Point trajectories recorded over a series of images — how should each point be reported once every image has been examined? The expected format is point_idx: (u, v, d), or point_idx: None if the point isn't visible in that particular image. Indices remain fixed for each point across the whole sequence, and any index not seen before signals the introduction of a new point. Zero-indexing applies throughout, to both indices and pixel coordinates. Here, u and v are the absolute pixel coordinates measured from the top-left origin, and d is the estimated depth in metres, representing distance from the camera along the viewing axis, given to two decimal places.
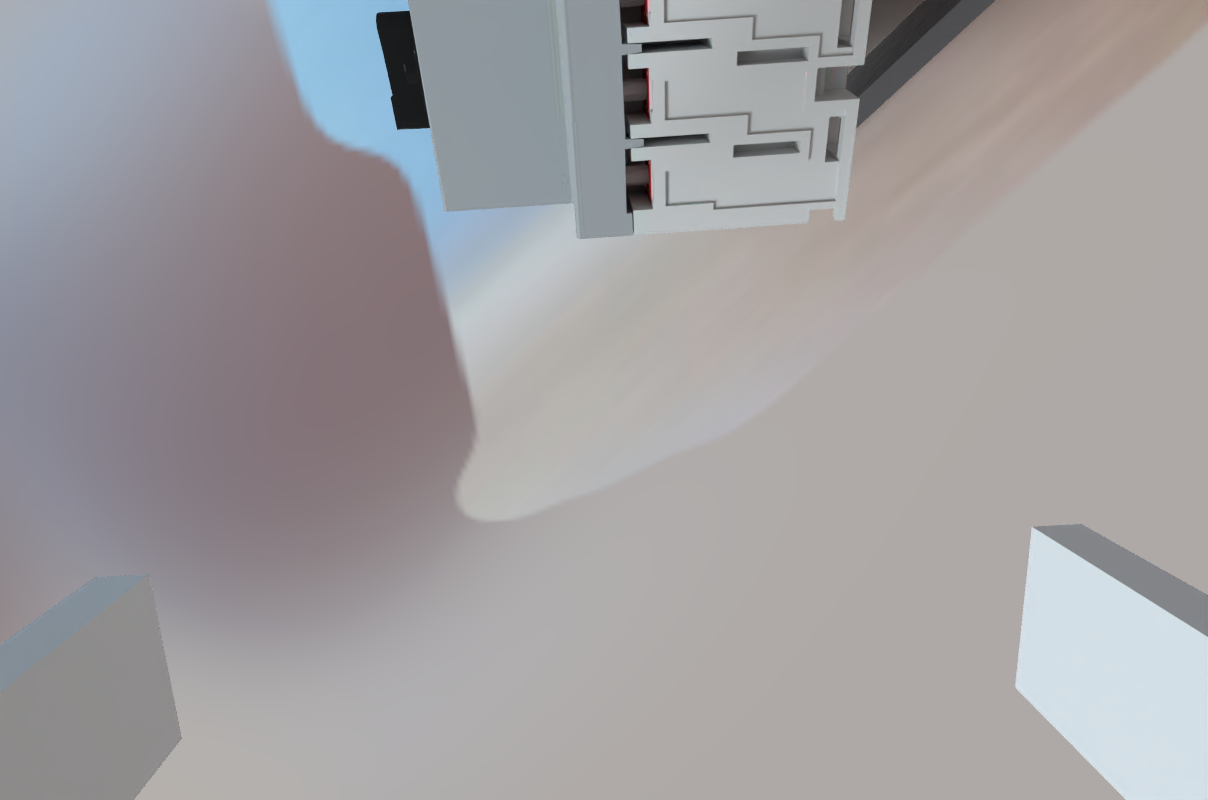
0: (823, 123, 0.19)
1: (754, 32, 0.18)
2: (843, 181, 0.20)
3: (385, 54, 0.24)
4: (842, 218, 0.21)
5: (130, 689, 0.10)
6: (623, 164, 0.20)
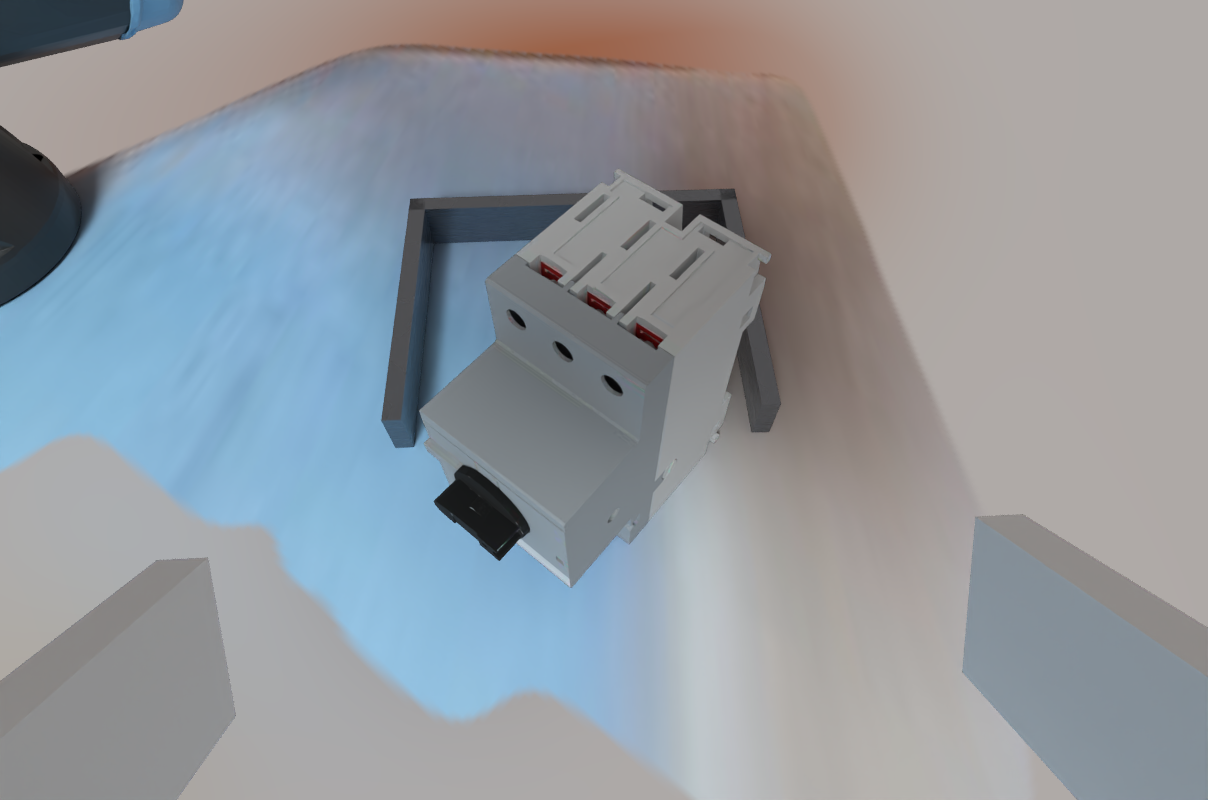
0: (698, 235, 0.28)
1: (619, 237, 0.28)
2: (743, 242, 0.27)
3: (454, 512, 0.28)
4: (769, 254, 0.27)
5: (193, 666, 0.10)
6: (624, 330, 0.25)
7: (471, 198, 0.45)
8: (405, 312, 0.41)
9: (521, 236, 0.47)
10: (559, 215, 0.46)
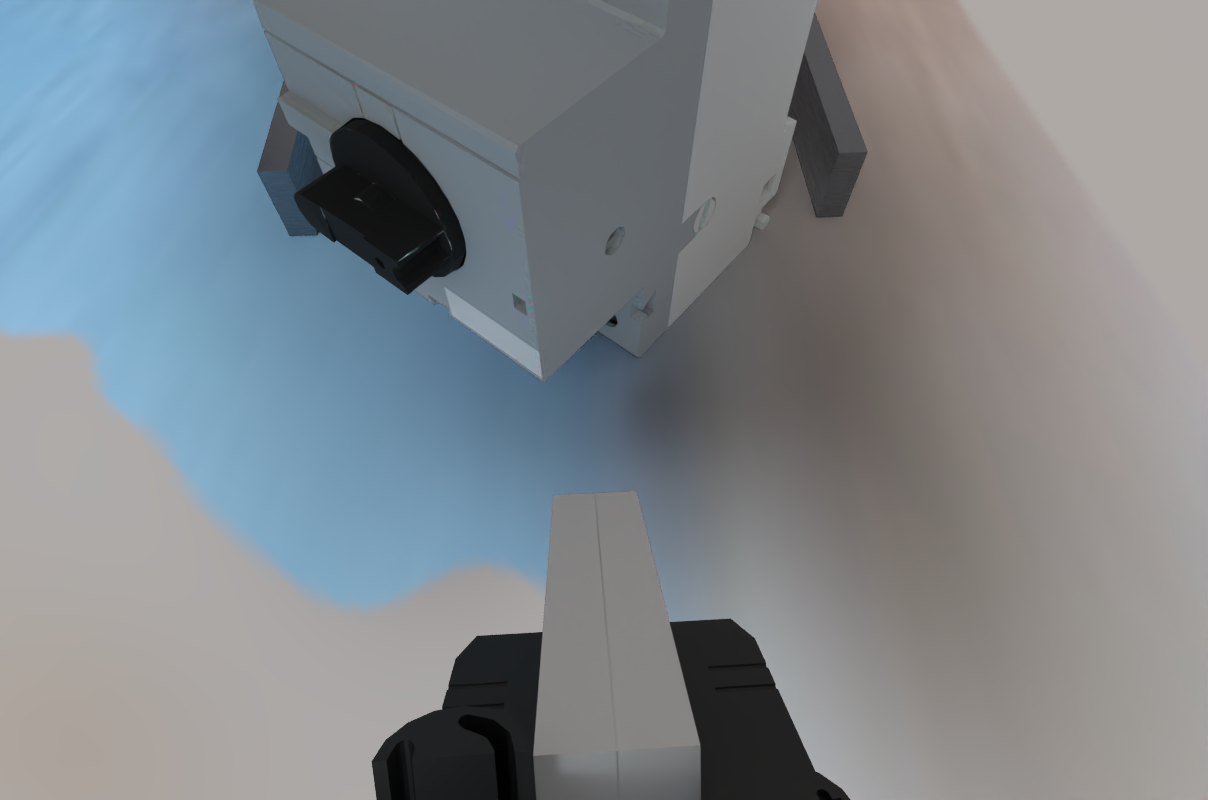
0: None
1: None
2: None
3: (325, 206, 0.16)
4: None
5: None
6: None
7: None
8: None
9: None
10: None
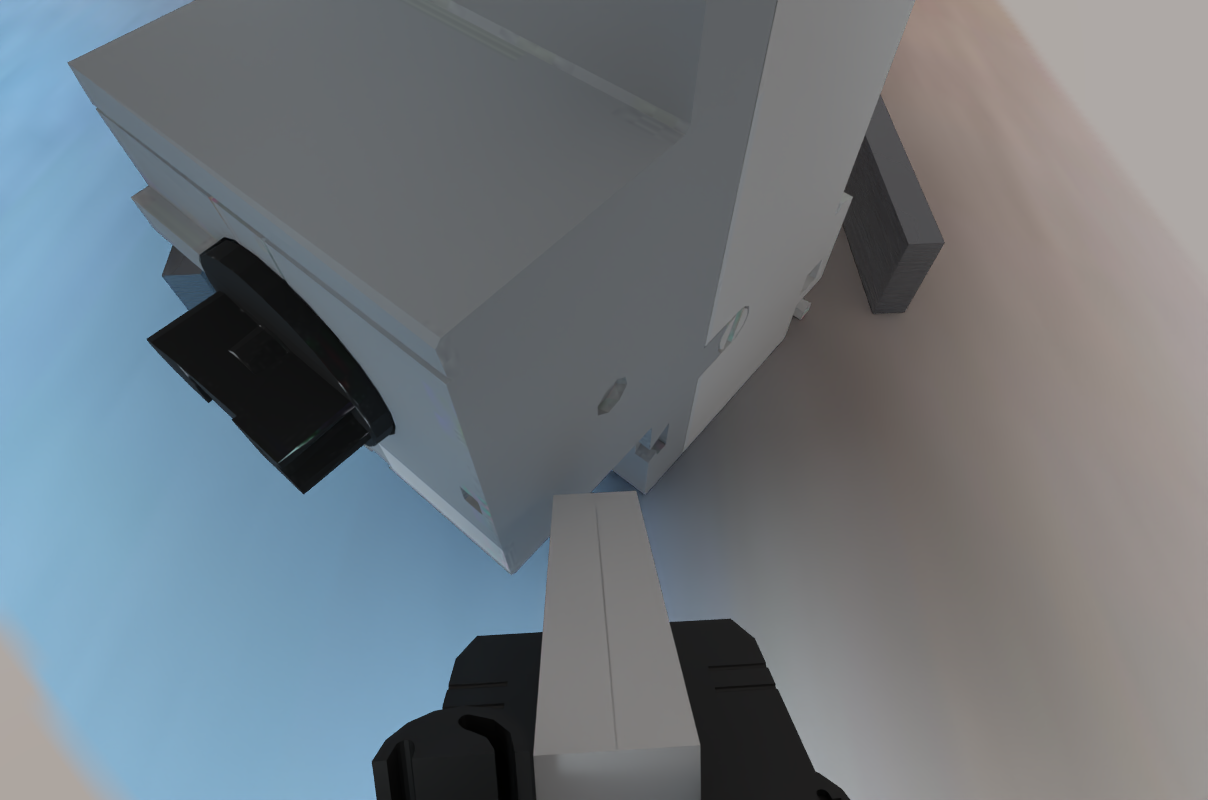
0: None
1: None
2: None
3: (185, 363, 0.11)
4: None
5: None
6: None
7: None
8: None
9: None
10: None
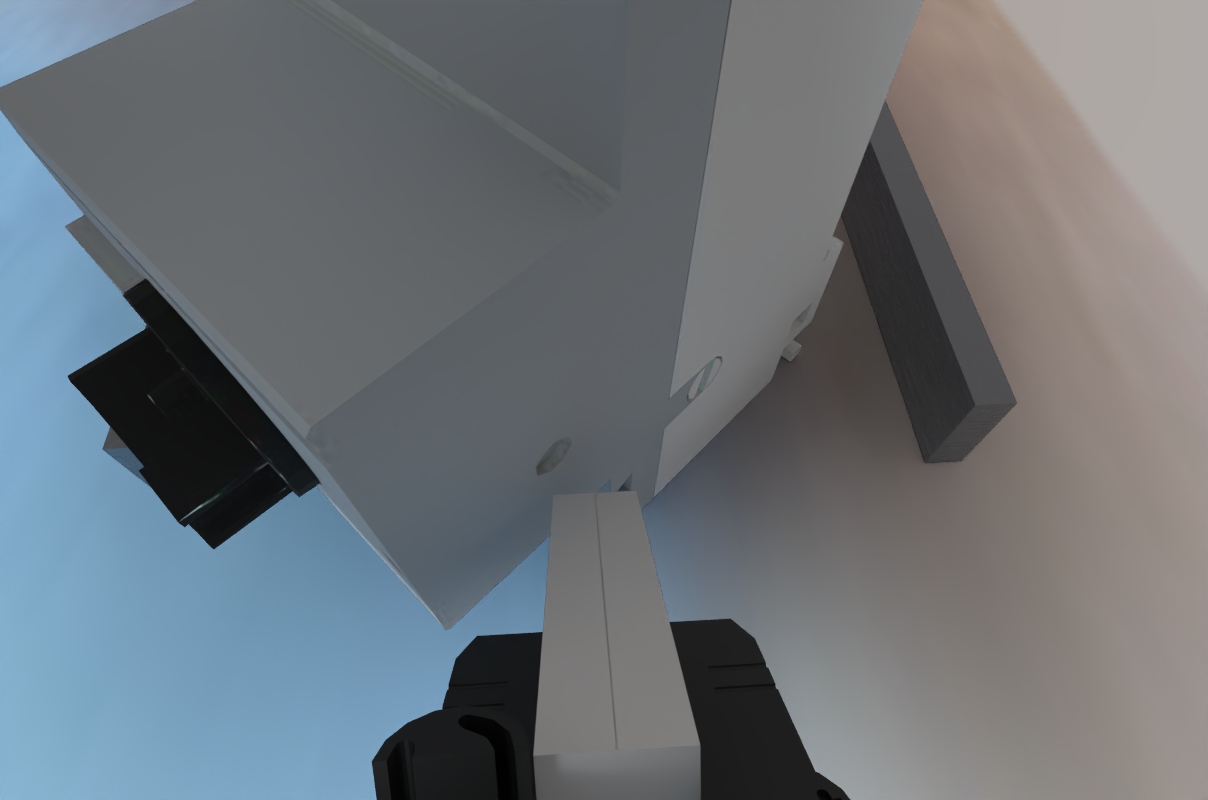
0: None
1: None
2: None
3: (100, 406, 0.10)
4: None
5: None
6: None
7: None
8: None
9: None
10: None
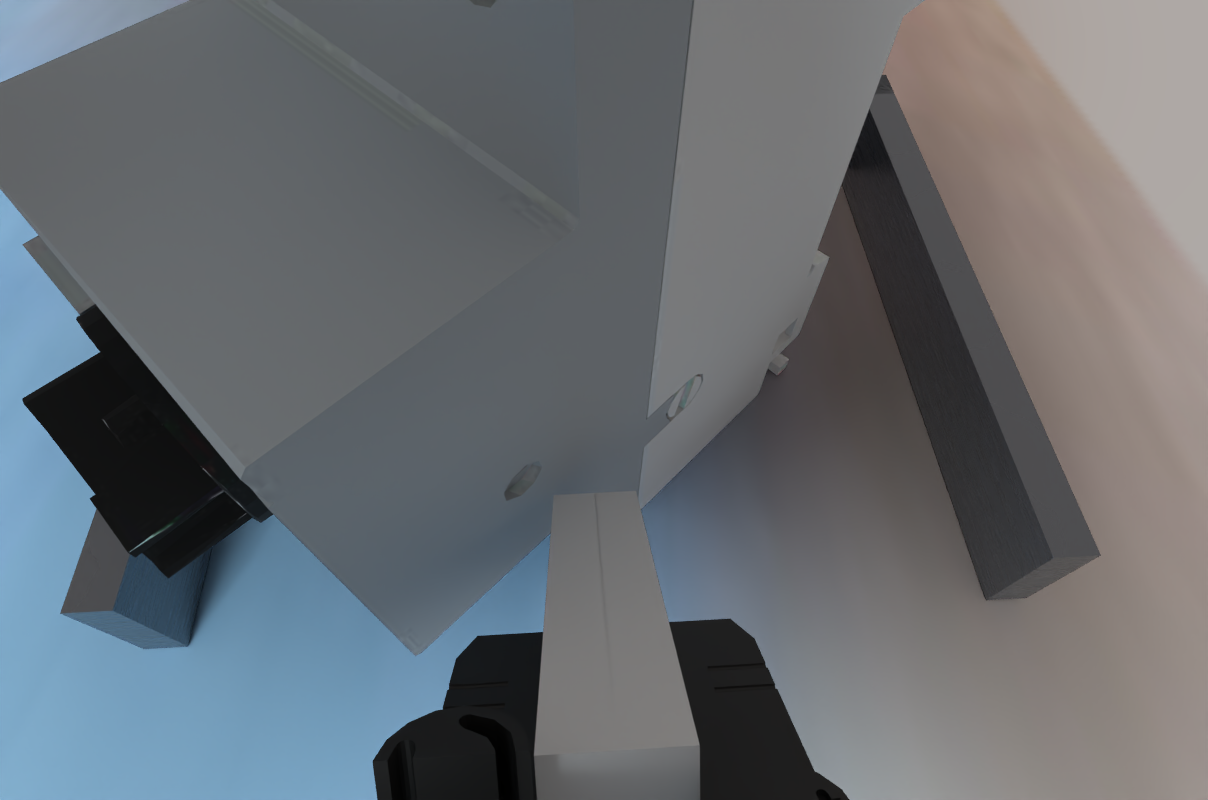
0: None
1: None
2: None
3: (53, 431, 0.10)
4: None
5: None
6: None
7: None
8: None
9: None
10: None
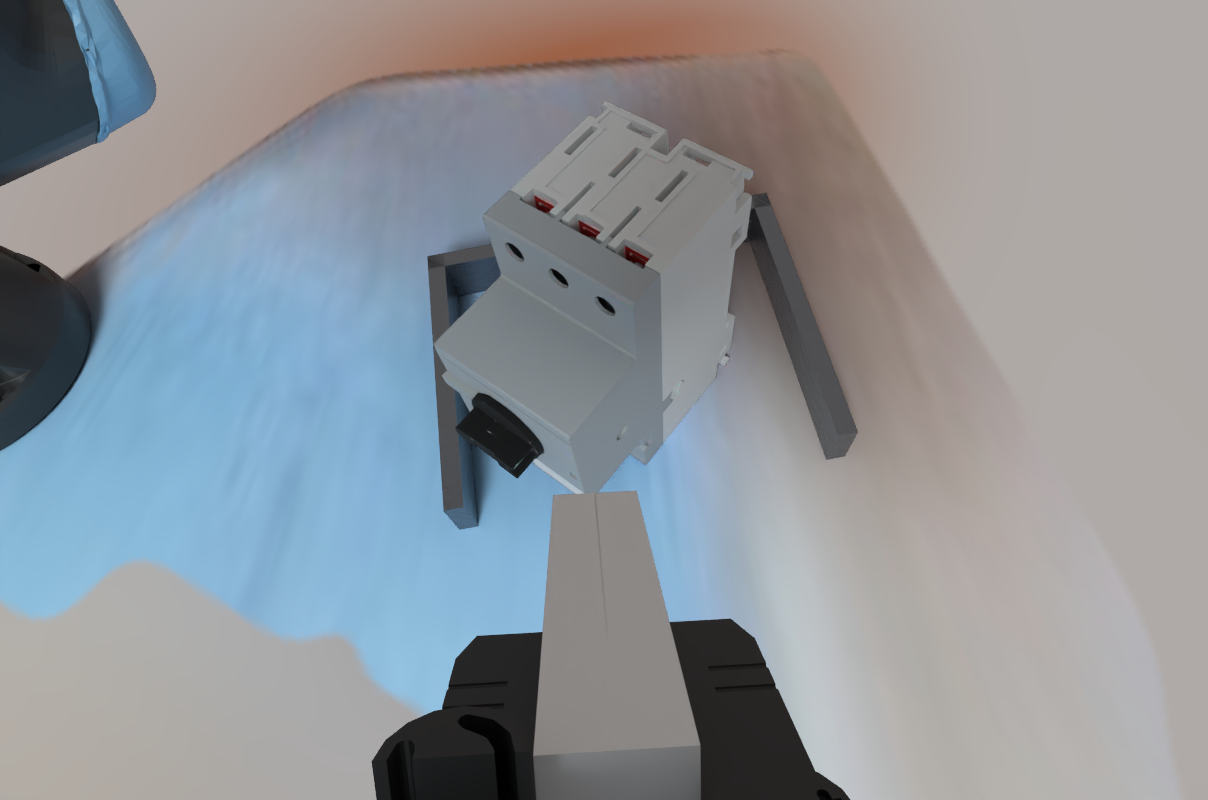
0: (683, 158, 0.29)
1: (607, 166, 0.29)
2: (726, 161, 0.28)
3: (473, 436, 0.31)
4: (750, 170, 0.28)
5: None
6: (612, 252, 0.27)
7: (491, 246, 0.43)
8: (446, 385, 0.38)
9: None
10: None
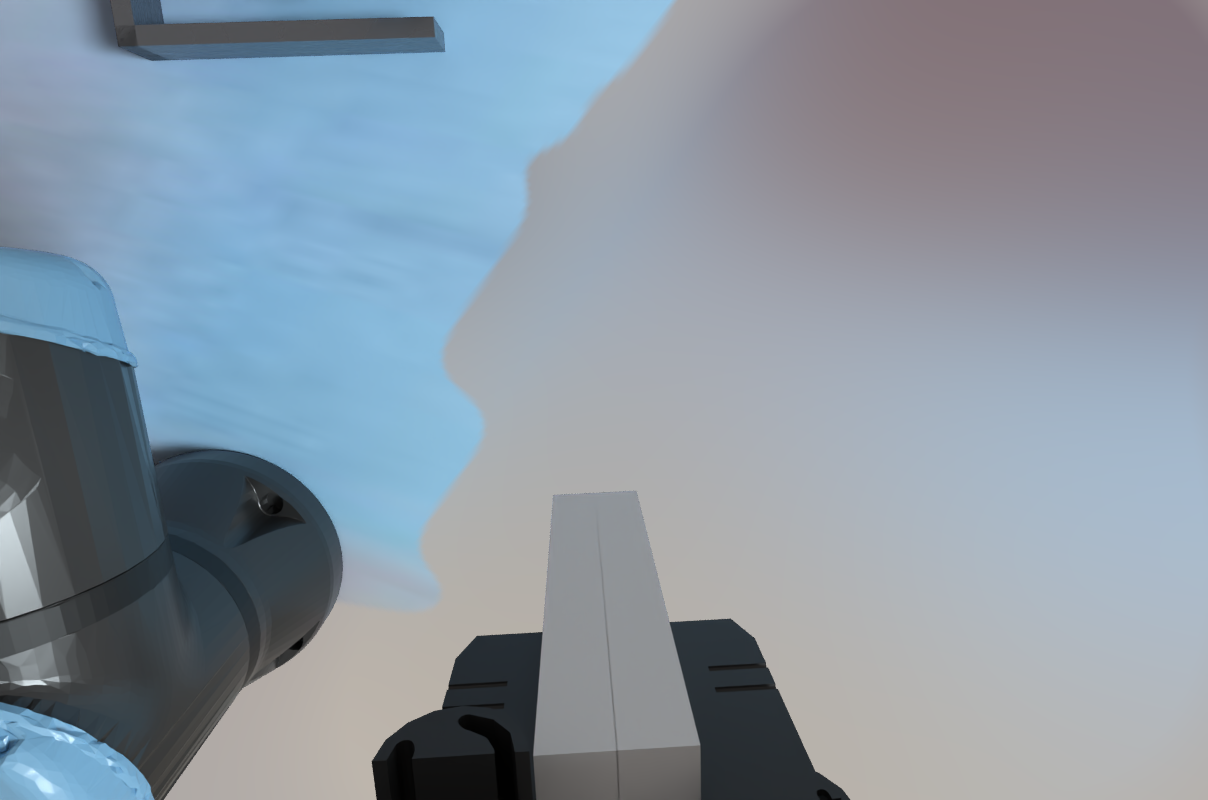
0: None
1: None
2: None
3: None
4: None
5: None
6: None
7: None
8: (297, 29, 0.37)
9: None
10: None
